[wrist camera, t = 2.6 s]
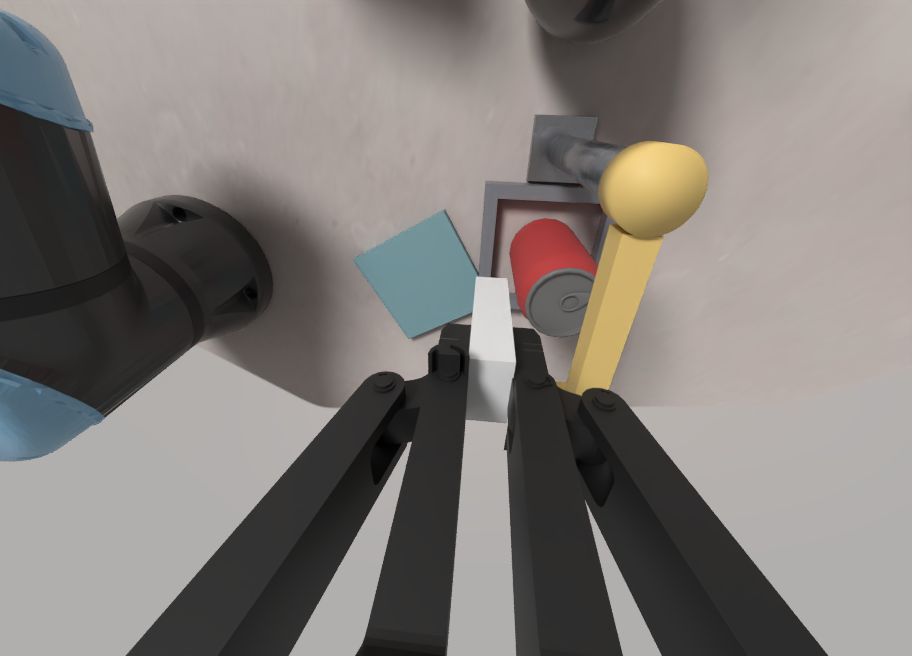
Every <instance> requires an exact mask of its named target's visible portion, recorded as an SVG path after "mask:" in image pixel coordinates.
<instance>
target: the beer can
mask: <svg viewBox="0 0 912 656" xmlns="http://www.w3.org/2000/svg"><path fill="white" fill-rule="evenodd" d="M510 260H511V266H512V272H513V278H514V285H515V291H516V297H517V303H518V306H519V308H520V309H521V311H522V313H523V315H524V316H525V317H526V318H527V319H528V320H529V321H530V323H531V325H532V326H533V327H534V328H536V329H537V330H538V331H539V332H541V333H544V334H546V335H548V336H554V337H567V336H573V335H576V334H578V333H580V332H581V328H582V325H583V321H584V317H585V314H586V310H587V306H588V303H589V299H590V295H591V291H592V288H593V284H594V280H595V277H596V273H597V269H598V265H597V263H596V262H595V261H594V259H593V258H592V257H591V255H590V254H589V253H588V251H587V250H586V249H585V247H584V246H583V245H582V243H581V242H580V241H579V239H578V238H577V237H576V235H575V234H574V233H573V231H572V230H571V229H570V228H569V227H568V226H567V225H566V224H564V223H562V222H560V221H558V220H556V219H546V218H544V219H540V220H535V221H533V222H531V223H529V224H527V225H525V226H524V227H523V228H522V229H521V230H520V231H519V232H518V233H517V234H516V235H515V237H514V239H513V241H512V243H511V248H510Z"/></svg>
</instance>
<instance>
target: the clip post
mask: <svg viewBox="0 0 912 656" xmlns="http://www.w3.org/2000/svg"><path fill="white" fill-rule="evenodd" d="M597 121H598V117H582V116H556V115H535V118H534V126H533V133H532V141H531V148H530V156H529V163H528V171H527V178H526V180H527V181H542V182H563V183H580V184H581V185H582V186H584V187H585V188H587V189H588V190H589V191H591V192H592V193H594V194H595V195H596V196H598V188H599V183H600V179H601V176H602V174H603V172H604V170H605V168H606V167H607V165H608V164H609V162H610V161H611V160H612V159H613V158H614V157H615V156H616V155H617V154H618V153H619V152H621V151H622V150H623V149H625V148H627V147H622V146H617V145H613V144H608V143H603V142H599V141H594V135H595V130H596V126H597Z"/></svg>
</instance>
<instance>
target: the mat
mask: <svg viewBox="0 0 912 656" xmlns="http://www.w3.org/2000/svg"><path fill="white" fill-rule="evenodd" d="M353 261H354V262H355V264H356V265H357V267H358V268H359V269H360V271H361V272H362V274H363V275H364V276H365V278H366V279H367V281H368V282H369V284H370V285H371V286H372V288H373V289H374V291H375V292H376V293H377V295H378V296H379V298H380V299H381V301H382V302H383V303H384V305H385V306H386V308H387V309H388V311H389V312H390V313H391V315H392V316H393V318H394V319H395V320H396V322H397V323H398V325H399V326H400V328H401V329H402V330H403V332H404V333H405V335H406V336H407V337H408V339H410V338H412V337H415V336H417V335H419V334H422V333H424V332H426V331H429V330H431V329H434V328H436V327H438V326H441V325H443V324H445V323H448V322H450V321H452V320H455V319H457V318H460V317H462V316H464V315H467V314H469V313H471V312H473V304H474V293H475V282H476V277H479V274H478V272H477V270H476V268H475V266H474V264H473V262H472V260H471V259H470V257H469V255H468V253H467V251H466V249H465V247H464V245H463V243H462V241H461V239H460V238H459V236H458V234H457V232H456V230H455V228H454V226H453V224H452V222H451V220H450V219H449V217H448V215H447V213H446V211H445V209H444V210H443V211H441V212H439V213H437V214H435V215H433V216H432V217H430V218H428V219H426V220H424V221H422V222H421V223H419V224H417V225H415V226H413V227H411V228H409V229H408V230H406V231H404V232H402V233H400V234H398V235H397V236H395V237H393V238H391V239H389V240H387V241H386V242H384V243H382V244H380V245H378V246H376V247H374V248H373V249H371V250H369V251H367V252H365V253H363V254H362V255H360V256H358V257H356V258H355V259H354V260H353Z"/></svg>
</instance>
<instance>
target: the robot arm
mask: <svg viewBox="0 0 912 656" xmlns="http://www.w3.org/2000/svg"><path fill="white" fill-rule="evenodd" d="M93 131H94V130H93V125H92V123H91V122H90V121H89V120H88V119H86V118H85V115H84V113H83V110H82V107H81V105H80V102H79V99H78V96H77V94H76V91H75V88H74V85H73V83H72V80H71V77H70V74H69V72H68V69H67V66H66V64H65V62H64V60H63V58H62V56H61V54H60V53H59V51H58V50H57V49H56V47H55V46H54V45H53V44H52V43H51V41H50V40H49V39H48V38H47V37H45V36H44V35H43V34H42V33H41V32H40V31H39V30H37V29H36V28H35V27H33V26H32V25H30V24H29V23H27V22H26V21H24V20H23V19H21V18H19V17H17V16H15V15H13V14H11V13H9V12H6V11H4V10H1V9H0V461H23V460H30V459H34V458H39V457H42V456H45V455H47V454H49V453H52V452H54V451H56V450H57V449H59V448H60V447H62V446H63V445H65V444H66V443H68V442H69V441H71V440H72V439H73V438H75V437H76V436H78V435H79V434H80V433H82V432H83V431H85V430H86V429H87V428H89V427H90V426H92V425H96V424H99V423H100V422H101V421H102V420H103V419H104V418H105V417H106V416H107V415H109V414H110V413H111V412H112V411H114V410H115V409H116V408H117V407H119V406H120V405H121V404H122V403H124V402H125V401H126V400H127V399H129V398H130V397H131V396H132V395H134V393H136V392H137V391H138V390H140V389H141V388H142V387H143V386H145V385H146V384H147V383H148V382H150V381H151V380H152V379H153V378H155V377H156V376H157V375H158V374H160V373H161V372H162V371H163V370H164V369H166V368H167V367H168V366H169V365H171V364H172V363H173V362H174V361H176V360H177V359H178V358H179V357H180V356H182V355H183V354H184V353H185V352H186V351H188V350H189V349H190V348H192V347H193V346H194V345H196V344H197V343H199V342H202V341H205V340H208V339H211V338H214V337H217V336H220V335H223V334H226V333H229V332H232V331H235V330H238V329H241V328H243V327H245V326H246V325H248V324H249V323H251V322H252V321H253V320H254V319H255V318H257V317H258V316H259V315H260V314H261V313H262V312H263V311H264V310H265V309H266V307H267V306H268V304H269V301H270V299H271V295H272V276H271V272H270V268H269V265H268V262H267V260H266V258H265V256H264V254H263V252H262V250H261V249H260V247H259V245H258V244H257V242H256V241H255V240H254V238H253V237H252V236H251V235H250V234H249V233H248V231H247V230H246V229H245V228H244V227H243V226H242V225H241V224H239V223H238V222H237V221H236V220H235V219H234V218H232V217H231V216H230V215H228V214H227V213H225V212H224V211H222V210H221V209H219V208H217V207H215V206H213V205H211V204H209V203H207V202H205V201H202V200H199V199H196V198H192V197H188V196H180V195H170V196H163V197H159V198H155V199H151V200H147V201H143V202H141V203H138V204H136V205H134V206H132V207H131V208H130V209H128V210H127V211H126V212H125V213H123V214H122V215H121V216H120V217H119V218H116V215H115V212H114V209H113V205H112V202H111V199H110V196H109V192H108V189H107V186H106V182H105V179H104V176H103V173H102V169H101V166H100V163H99V160H98V156H97V153H96V150H95V147H94V143H93V140H92V137H91V133H90V132H93ZM507 416H508V428H507V435H506V440H505V446H504V450H507V460H508V482H509V504H510V526H511V548H512V569H513V592H514V613H515V633H516V656H623V654H622V650H621V646H620V642H619V638H618V634H617V630H616V626H615V622H614V617H613V613H612V609H611V605H610V601H609V597H608V593H607V589H606V585H605V580H604V576H603V572H602V568H601V564H600V560H599V556H598V552H597V548H596V544H595V540H594V536H593V531H592V527H591V523H590V519H589V515H588V511H587V507H586V503H585V500H586V502H587V505H588V506H589V508H590V511H591V513H592V515H593V517H594V519H595V521H596V523H597V525H598V527H599V529H600V531H601V533H602V535H603V537H604V539H605V541H606V543H607V545H608V547H609V549H610V551H611V553H612V555H613V557H614V559H615V561H616V563H617V565H618V567H619V570H620V572H621V574H622V576H623V578H624V579H625V581H626V583H627V586H628V588H629V590H630V592H631V594H632V596H633V598H634V600H635V602H636V604H637V606H638V608H639V610H640V612H641V614H642V616H643V618H644V620H645V622H646V624H647V626H648V628H649V630H650V632H651V635H652V637H653V639H654V641H655V642H656V645H657V646H658V649H659V651H660V653H661V655H662V656H828V655H827V654H826V653H825V651H824V650H823V648H822V647H821V646H820V645H819V643H818V642H817V641H816V640H815V638H814V637H813V636H812V635H811V634H810V632H809V631H808V630H807V629H806V627H805V626H804V625H803V624H802V622H801V621H800V620H799V619H798V617H797V616H796V615H795V614H794V612H793V611H792V610H791V609H790V607H789V606H788V605H787V604H786V602H785V601H784V600H783V599H782V597H781V596H780V595H779V594H778V592H777V591H776V590H775V589H774V587H773V586H772V585H771V584H770V582H769V581H768V580H767V579H766V578H765V576H764V575H763V574H762V572H761V571H760V570H759V569H758V567H757V566H756V565H755V564H754V562H753V561H752V560H751V559H750V557H749V556H748V555H747V554H746V553H745V551H744V550H743V549H742V547H741V546H740V545H739V544H738V542H737V541H736V540H735V539H734V537H733V536H732V535H731V534H730V532H729V531H728V530H727V529H726V527H725V526H724V525H723V524H722V522H721V521H720V520H719V519H718V517H717V516H716V515H715V514H714V512H713V511H712V510H711V509H710V507H709V506H708V505H707V504H706V502H705V501H704V500H703V499H702V497H701V496H700V495H699V494H698V492H697V491H696V490H695V489H694V487H693V486H692V485H691V484H690V483H689V481H688V480H687V479H686V477H685V476H684V475H683V474H682V472H681V471H680V470H679V469H678V467H677V466H676V465H675V464H674V462H673V461H672V460H671V459H670V457H669V456H668V455H667V454H666V452H665V451H664V450H663V449H662V447H661V446H660V445H659V444H658V442H657V441H656V440H655V439H654V437H653V436H652V435H651V434H650V432H649V431H648V430H647V429H646V427H645V426H644V425H643V424H642V422H641V421H640V420H639V419H638V417H637V416H636V415H635V414H634V412H633V411H632V410H631V409H630V407H629V406H628V405H627V404H626V402H625V401H624V400H623V399H622V398H621V397H620V396H619V395H617V394H615V393H614V392H612V391H610V390H606V389H603V388H590V389H587V390H585V391H584V392H583V393H582V396H581V395H578V394H574V393H571V392H568V391H566V390H563V389H561V388H560V387H558V386H557V384H556V382H555V380H554V378H553V377H552V376H550V375H549V374H548V370H547V365H546V361H545V357H544V352H543V348H542V343H541V339H540V336H539V335H538V334H537V332H536V331H535V330H534V329H528V328H515V327H512V319H511V309H510V300H509V290H508V280H507V279H506V278H491V277H476V282H475V293H474V304H473V315H472V325H462V324H449V323H448V324H447V325H446V326H445V327H444V328H443V329H442V331H441V335H440V340H439V345H436V346H434V347H433V348H431V349H430V351H429V353H428V374H427V375H426V376H424V377H422V378H419V379H415V380H409V381H404V379H403V378H402V377H401V376H400V375H399V374H397V373H394V372H387V371H385V372H378V373H376V374H373V375H371V376H370V377H368V378H367V379H366V380H365V381H364V382H363V383H362V384H361V385H360V387H359V388H358V389H357V390H356V391H355V392H354V394H353V395H352V396H351V397H350V398H349V399H348V400H347V402H346V403H345V404H344V405H343V406H342V407H341V409H340V410H339V411H338V412H337V413H336V415H334V417H333V418H332V419H331V420H330V421H329V422H328V424H327V425H326V426H325V427H324V428H323V429H322V431H321V432H320V433H319V434H318V435H317V436H316V437H315V438H314V440H313V441H312V442H311V443H310V444H309V445H308V447H307V448H306V449H305V450H304V451H303V452H302V453H301V455H300V456H299V457H298V458H297V459H296V460H295V461H294V463H293V464H292V465H291V466H290V467H289V468H288V470H287V471H286V472H285V473H284V474H283V475H282V477H281V478H280V479H279V480H278V481H277V482H276V483H275V485H274V486H273V487H272V488H271V489H270V491H269V492H268V493H267V494H266V495H265V496H264V497H263V498H262V499H261V501H260V502H259V503H258V504H257V505H256V506H255V508H254V509H253V510H252V511H251V512H250V513H249V514H248V516H247V517H246V518H245V519H244V520H243V521H242V523H241V524H240V525H239V526H238V527H237V528H236V529H235V531H234V532H233V533H232V534H231V535H230V536H229V538H228V539H227V540H226V541H225V542H224V543H223V544H222V546H221V547H220V548H219V549H218V550H217V551H216V552H215V554H214V555H213V556H212V557H211V558H210V559H209V561H208V562H207V563H206V564H205V565H204V566H203V568H202V569H201V570H200V571H199V572H198V573H197V574H196V576H195V577H194V578H193V579H192V580H191V581H190V582H189V584H188V585H187V586H186V587H185V588H184V589H183V590H182V592H181V593H180V594H179V595H178V596H177V597H176V599H175V600H174V601H173V602H172V603H171V604H170V605H169V607H168V608H167V609H166V610H165V611H164V613H162V615H161V616H160V617H159V618H158V619H157V621H156V622H155V623H154V624H153V625H152V626H151V627H150V628H149V630H148V631H147V632H146V633H145V634H144V635H143V637H142V638H141V639H140V640H139V641H138V642H137V643H136V645H135V646H134V647H133V648H132V649H131V650H130V652H129V653H128V654H127V655H126V656H289V654H290V652H291V651H292V649H293V647H294V645H295V644H296V642H297V640H298V638H299V636H300V635H301V633H302V631H303V629H304V628H305V626H306V624H307V622H308V620H309V619H310V617H311V615H312V613H313V612H314V610H315V608H316V606H317V604H318V603H319V601H320V599H321V597H322V596H323V594H324V592H325V590H326V588H327V586H328V585H329V583H330V581H331V580H332V578H333V576H334V574H335V572H336V571H337V569H338V567H339V565H340V563H341V562H342V560H343V558H344V556H345V555H346V553H347V551H348V549H349V548H350V546H351V544H352V542H353V540H354V539H355V537H356V535H357V533H358V531H359V530H360V528H361V526H362V524H363V523H364V521H365V519H366V517H367V516H368V514H369V512H370V510H371V508H372V507H373V505H374V503H375V501H376V500H377V498H378V496H379V494H380V493H381V491H382V489H383V487H384V485H385V484H386V482H387V480H388V478H389V476H390V475H391V473H392V471H393V469H394V467H395V466H396V464H397V462H398V461H399V459H400V457H401V455H402V453H403V452H404V450H405V448H406V446H407V443H408V442H412V444H411V448H410V453H409V457H408V461H407V465H406V470H405V473H404V478H403V482H402V486H401V490H400V494H399V498H398V502H397V506H396V511H395V515H394V519H393V523H392V527H391V532H390V536H389V540H388V544H387V548H386V552H385V556H384V561H383V565H382V569H381V574H380V578H379V582H378V586H377V590H376V594H375V598H374V602H373V607H372V611H371V615H370V619H369V623H368V627H367V631H366V635H365V638H364V641H363V644H362V646H361V647H360V649H359V651H358V652H357V654H356V655H355V656H447V646H448V633H449V632H448V631H449V620H450V608H451V596H452V583H453V571H454V557H455V545H456V533H457V521H458V508H459V495H460V483H461V470H462V458H463V445H464V432H465V419H466V420H477V421H488V422H499V423H506V422H507ZM584 498H585V499H584Z"/></svg>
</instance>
